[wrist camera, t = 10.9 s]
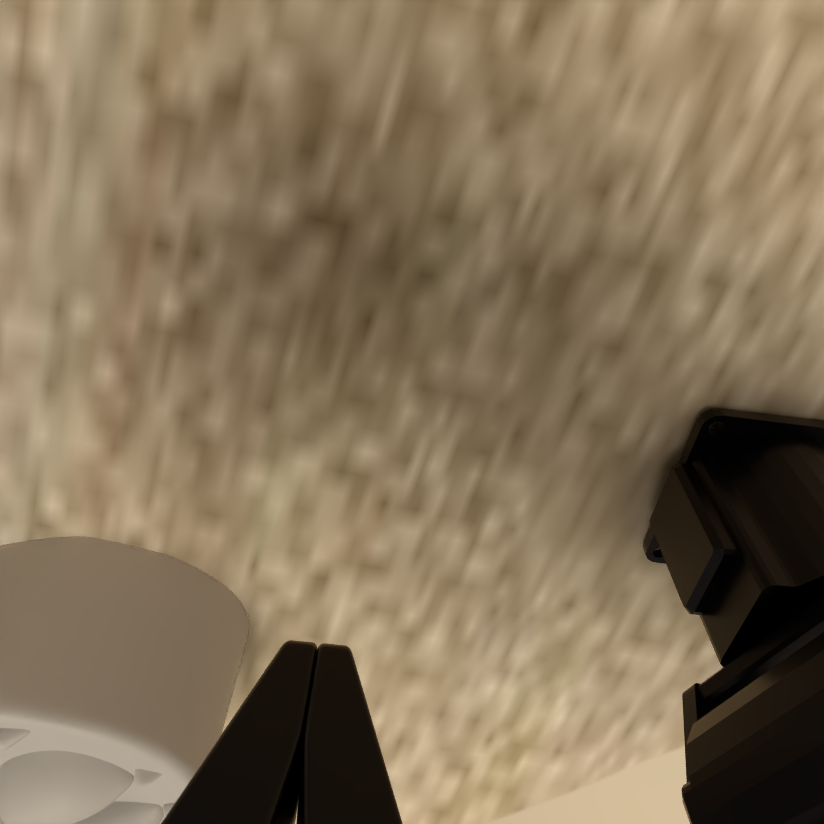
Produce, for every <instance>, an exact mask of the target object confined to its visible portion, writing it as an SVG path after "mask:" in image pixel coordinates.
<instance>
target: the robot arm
mask: <svg viewBox="0 0 824 824" xmlns="http://www.w3.org/2000/svg"><path fill="white" fill-rule="evenodd" d="M715 422H720V423H719V424H718V426H716V427H714V428H709V427H710V425H711V424H713V423H715ZM650 525H651V528H650V530H649V532H648V535H647V537H646V539H645V541H644V544H643V548H644V551H645V554H646V556H647V558H648V559H649V560H650V561H652V562H657V563H666V564H667V567H668V569H669V571H670V574H671V576H672V579H673V581H674V584H675V586H676V589H677V591H678V594H679V596H680V598H681V601H682V603H683V606H684V607H685V608H686V610H687V611H688V612H689V614H695V615H700V617H701V619H702V622H703V624H704V627H705V629H706V631H707V634H708V636H709V638H710V641H711V643H712V645H713V648H714V650H715V652H716V655H717V657H718V659H719V662H720V664H721V665H722V666H723V668H722V669H721V670H719V671H718V672H717V673H715V674H714V675H712V676H711V677H710V678H708V679H707V680H706V681H704V682H703V683H702V684H698V683H696V684H694V685H693V686H692V687H690V688H689V689H688V690H686V691H685V692H684V693H683V695H682V697H683V716H684V736H685V756H686V776H687V783H686V784H685V785H683V787H682V798H683V804H684V807H685V810H686V813H687V815H688V818H689V821H690V824H824V422H823V421H815V420H807V419H799V418H790V417H782V416H774V415H766V414H758V413H749V412H741V411H733V410H725V409H710V410H708V411H705V412H704V413H703V414H701V415H700V417H699V418H698V419H697V422H696V424H695V426H694V428H693V431H692V433H691V435H690V438H689V440H688V442H687V445H686V447H685V449H684V452H683V454H682V456H681V458H680V461H679V463H678V464H677V465H676V466H675V467H673V468H672V470H671V472H670V474H669V477H668V479H667V481H666V484H665V486H664V488H663V491H662V493H661V495H660V498H659V500H658V502H657V505H656V507H655V509H654V512H653V514H652V516H651V519H650ZM657 548H660V549H658V550H655V549H657ZM297 807H298V812H297ZM296 813H297V824H402V820H401V817H400V814H399V810H398V807H397V804H396V800H395V797H394V793H393V790H392V787H391V783H390V780H389V776H388V773H387V770H386V766H385V763H384V760H383V756H382V753H381V749H380V746H379V743H378V739H377V736H376V732H375V729H374V726H373V722H372V719H371V716H370V712H369V709H368V705H367V702H366V699H365V695H364V692H363V688H362V685H361V682H360V678H359V675H358V672H357V668H356V665H355V661H354V658H353V655H352V652H351V650H350V648H349V647H347V646H344V645H334V644H321V645H320V646H319V647H318V649H317V646H316V644H315V643H312V642H303V641H293V640H290V641H287V642H285V643H284V644H283V645H282V647H281V648H280V650H279V651H278V652H277V654H276V655H275V657H274V658H273V660H272V661H271V663H270V664H269V666H268V667H267V669H266V670H265V672H264V673H263V674H262V676H261V677H260V679H259V680H258V682H257V683H256V685H255V686H254V688H253V689H252V691H251V692H250V694H249V695H248V697H247V698H246V699H245V701H244V702H243V704H242V705H241V707H240V708H239V710H238V711H237V713H236V714H235V716H234V717H233V719H232V720H231V721H230V723H229V724H228V726H227V727H226V729H225V730H224V732H223V733H222V735H221V736H220V738H219V739H218V741H217V742H216V744H215V745H214V746H213V748H212V749H211V751H210V752H209V754H208V755H207V757H206V758H205V760H204V761H203V763H202V764H201V766H200V767H199V768H198V770H197V771H196V773H195V774H194V776H193V777H192V779H191V780H190V782H189V783H188V785H187V786H186V788H185V789H184V790H183V792H182V793H181V795H180V796H179V798H178V799H177V801H176V802H175V804H174V805H173V807H172V808H171V810H170V811H169V813H168V814H167V815H166V817H165V818H164V820H163V821H162V823H161V824H295V819H296Z"/></svg>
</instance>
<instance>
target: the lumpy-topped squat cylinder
mask: <svg viewBox="0 0 824 824" xmlns="http://www.w3.org/2000/svg"><path fill="white" fill-rule="evenodd" d="M248 632H249V620H248V616H247V613H246V611H245V609H244V607H243V605H242V603H241V602H240V601H239V599H238V598H237V597H236V596H235V595H234V594H233V593H232V592H231V591H230V590H229V589H228V588H227V587H226V586H224V585H223V584H222V583H220V582H219V581H217V580H216V579H214V578H213V577H211V576H209V575H208V574H206V573H204V572H202V571H200V570H199V569H197V568H195V567H193V566H191V565H189V564H187V563H184V562H182V561H180V560H178V559H175V558H173V557H170V556H167V555H164V554H161V553H157V552H154V551H150V550H146V549H142V548H138V547H134V546H130V545H126V544H121V543H116V542H111V541H106V540H101V539H95V538H89V537H60V538H49V539H40V540H33V541H26V542H19V543H13V544H7V545H2V546H0V824H161V823H162V821H163V820H164V818H165V817H166V815H167V814H168V813H169V811H170V810H171V808H172V807H173V805H174V804H175V802H176V801H177V799H178V798H179V796H180V795H181V793H182V792H183V790H184V789H185V788H186V786H187V785H188V783H189V782H190V780H191V779H192V777H193V776H194V774H195V773H196V771H197V770H198V768H199V767H200V766H201V764H202V763H203V761H204V760H205V758H206V757H207V755H208V754H209V752H210V751H211V749H212V748H213V746H214V745H215V744H216V742H217V741H218V739H219V738H220V736H221V734H222V730H223V726H224V723H225V719H226V715H227V712H228V708H229V704H230V700H231V697H232V693H233V689H234V685H235V682H236V678H237V674H238V670H239V667H240V663H241V659H242V655H243V652H244V648H245V644H246V640H247V636H248Z"/></svg>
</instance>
